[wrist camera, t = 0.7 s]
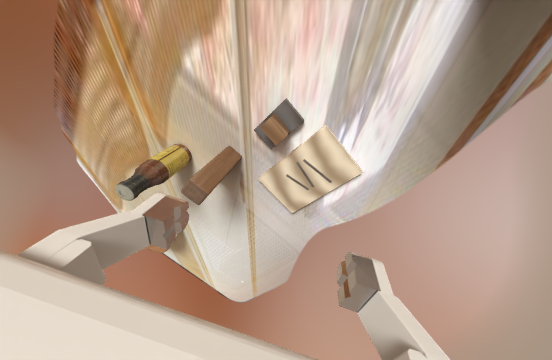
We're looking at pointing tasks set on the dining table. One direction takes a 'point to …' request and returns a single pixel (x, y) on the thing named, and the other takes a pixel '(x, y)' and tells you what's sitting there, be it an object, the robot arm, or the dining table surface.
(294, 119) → the block
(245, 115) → the dining table surface
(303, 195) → the birch board
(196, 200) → the wooden block
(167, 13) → the dining table surface
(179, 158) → the sauce bottle
